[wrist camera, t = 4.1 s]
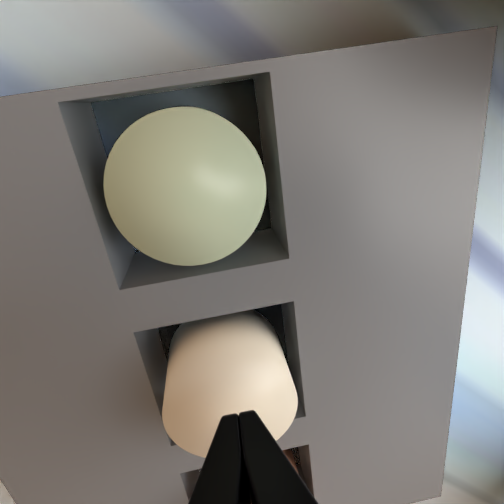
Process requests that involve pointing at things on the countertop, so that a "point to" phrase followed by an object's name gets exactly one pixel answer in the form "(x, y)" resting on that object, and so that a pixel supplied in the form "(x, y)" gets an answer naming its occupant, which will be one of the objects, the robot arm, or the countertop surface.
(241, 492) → the robot arm
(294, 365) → the panel
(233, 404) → the cream button
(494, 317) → the countertop surface
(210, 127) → the sage button
